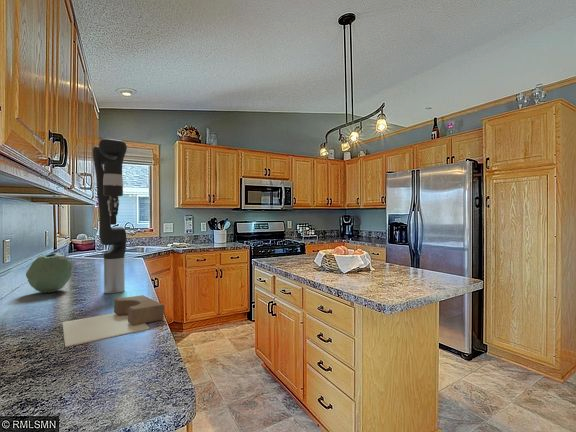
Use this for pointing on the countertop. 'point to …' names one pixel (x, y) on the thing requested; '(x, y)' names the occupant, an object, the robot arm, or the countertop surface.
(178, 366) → the countertop surface
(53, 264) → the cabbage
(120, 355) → the countertop surface
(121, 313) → the decorative block
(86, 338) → the sand mat
